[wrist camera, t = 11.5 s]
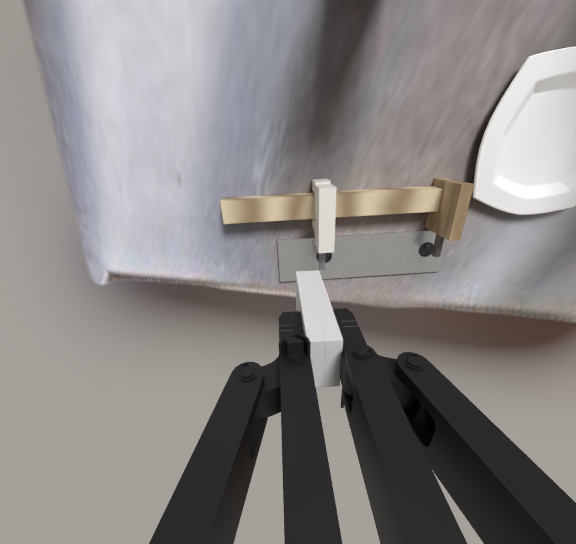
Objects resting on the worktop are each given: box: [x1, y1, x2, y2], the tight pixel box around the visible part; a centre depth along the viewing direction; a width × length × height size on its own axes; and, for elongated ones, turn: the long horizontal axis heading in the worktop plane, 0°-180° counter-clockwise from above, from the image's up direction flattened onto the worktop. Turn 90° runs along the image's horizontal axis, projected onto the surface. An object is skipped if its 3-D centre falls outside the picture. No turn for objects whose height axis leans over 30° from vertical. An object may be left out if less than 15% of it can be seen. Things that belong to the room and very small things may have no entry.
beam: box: [220, 178, 474, 257], centre depth 36 cm, size 32×10×6 cm, turn 93°
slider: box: [312, 179, 336, 270], centre depth 35 cm, size 2×12×6 cm, turn 3°
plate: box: [472, 47, 576, 215], centre depth 34 cm, size 19×19×2 cm
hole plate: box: [277, 230, 447, 282], centre depth 41 cm, size 7×26×1 cm, turn 93°
